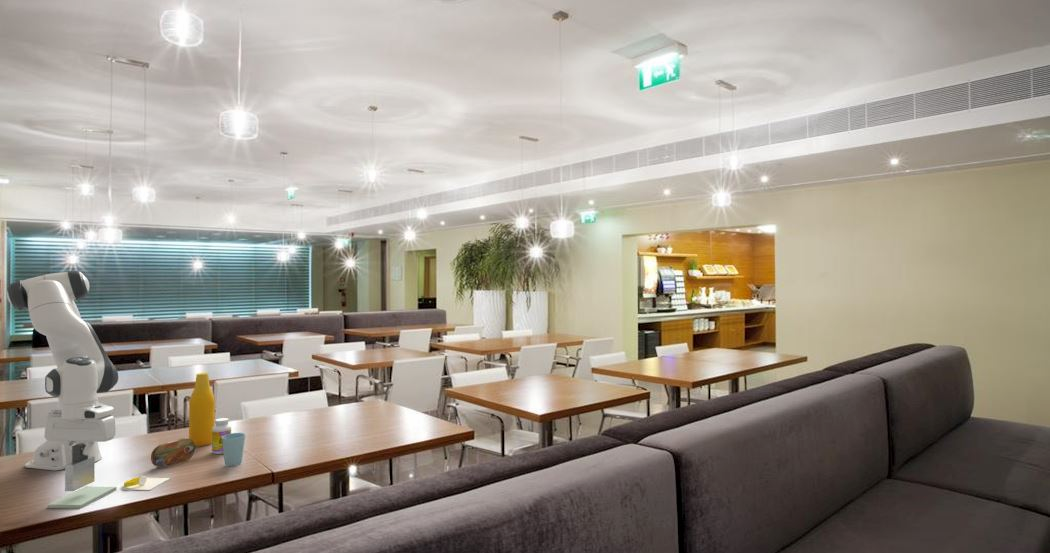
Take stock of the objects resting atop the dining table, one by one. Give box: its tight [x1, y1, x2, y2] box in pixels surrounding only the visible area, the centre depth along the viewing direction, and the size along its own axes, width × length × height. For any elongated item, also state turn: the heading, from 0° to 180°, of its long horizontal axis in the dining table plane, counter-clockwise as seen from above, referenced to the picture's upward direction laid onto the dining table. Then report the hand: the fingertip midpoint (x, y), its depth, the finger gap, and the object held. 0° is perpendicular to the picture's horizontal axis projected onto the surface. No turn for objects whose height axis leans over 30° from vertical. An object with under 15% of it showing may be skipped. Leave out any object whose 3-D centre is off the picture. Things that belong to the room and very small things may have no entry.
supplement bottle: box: [211, 417, 232, 455], centre depth 216 cm, size 7×7×13 cm
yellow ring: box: [123, 475, 147, 488], centre depth 181 cm, size 6×3×6 cm
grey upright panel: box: [64, 443, 96, 492], centre depth 170 cm, size 2×8×13 cm, turn 178°
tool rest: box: [47, 485, 117, 509], centre depth 170 cm, size 10×14×1 cm
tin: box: [150, 438, 196, 469], centre depth 202 cm, size 15×3×8 cm, turn 154°
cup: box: [222, 432, 246, 467], centre depth 203 cm, size 8×8×10 cm
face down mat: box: [121, 477, 171, 492], centre depth 182 cm, size 9×10×1 cm
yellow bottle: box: [188, 372, 216, 448], centre depth 226 cm, size 9×9×29 cm
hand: (80, 454), depth 170 cm, fingers closed on grey upright panel, 2 cm apart
